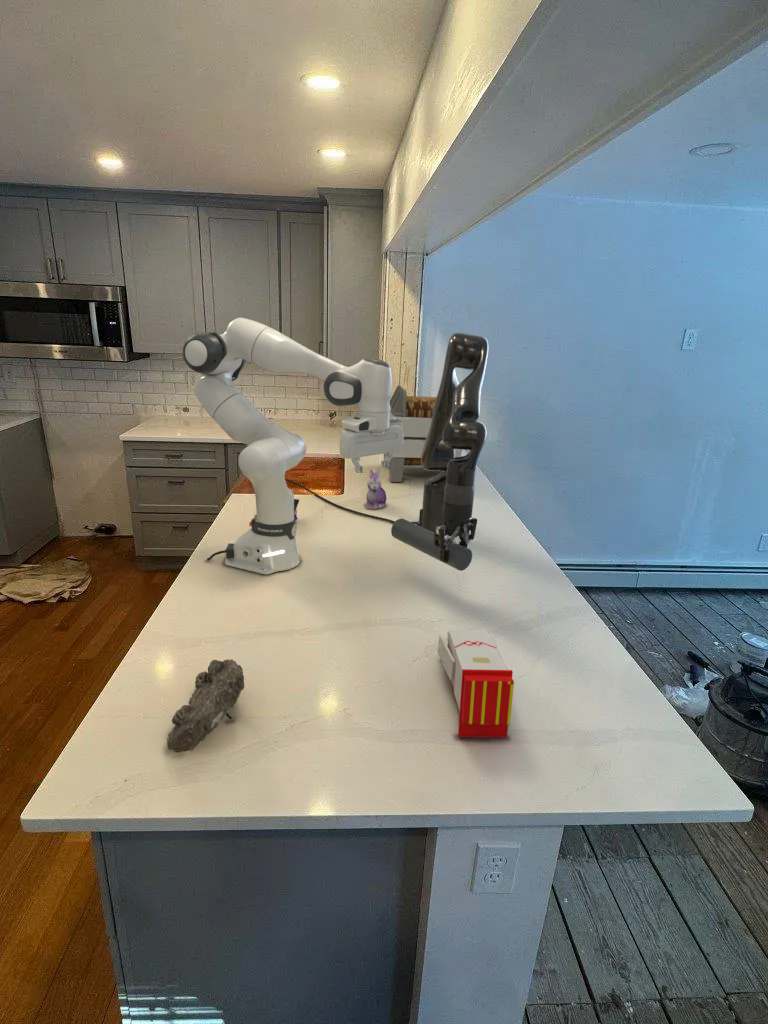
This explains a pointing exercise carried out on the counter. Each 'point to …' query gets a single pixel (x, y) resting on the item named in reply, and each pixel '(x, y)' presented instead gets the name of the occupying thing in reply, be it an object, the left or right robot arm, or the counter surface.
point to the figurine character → (295, 507)
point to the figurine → (375, 491)
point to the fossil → (206, 705)
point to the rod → (430, 543)
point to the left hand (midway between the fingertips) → (372, 469)
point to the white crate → (411, 430)
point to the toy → (478, 682)
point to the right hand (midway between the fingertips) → (453, 558)
